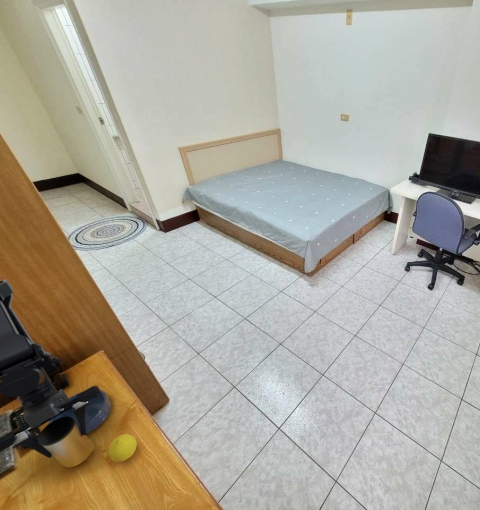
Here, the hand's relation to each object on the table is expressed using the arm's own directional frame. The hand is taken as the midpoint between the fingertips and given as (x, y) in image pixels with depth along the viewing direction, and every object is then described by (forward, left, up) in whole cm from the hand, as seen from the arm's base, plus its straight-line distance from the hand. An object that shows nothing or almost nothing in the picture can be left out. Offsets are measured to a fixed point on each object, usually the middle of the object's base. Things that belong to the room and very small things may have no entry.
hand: (68, 446), depth 64 cm
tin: (-1, 0, -7) cm, 7 cm away
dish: (-13, +3, -9) cm, 16 cm away
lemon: (+7, +8, -9) cm, 14 cm away
